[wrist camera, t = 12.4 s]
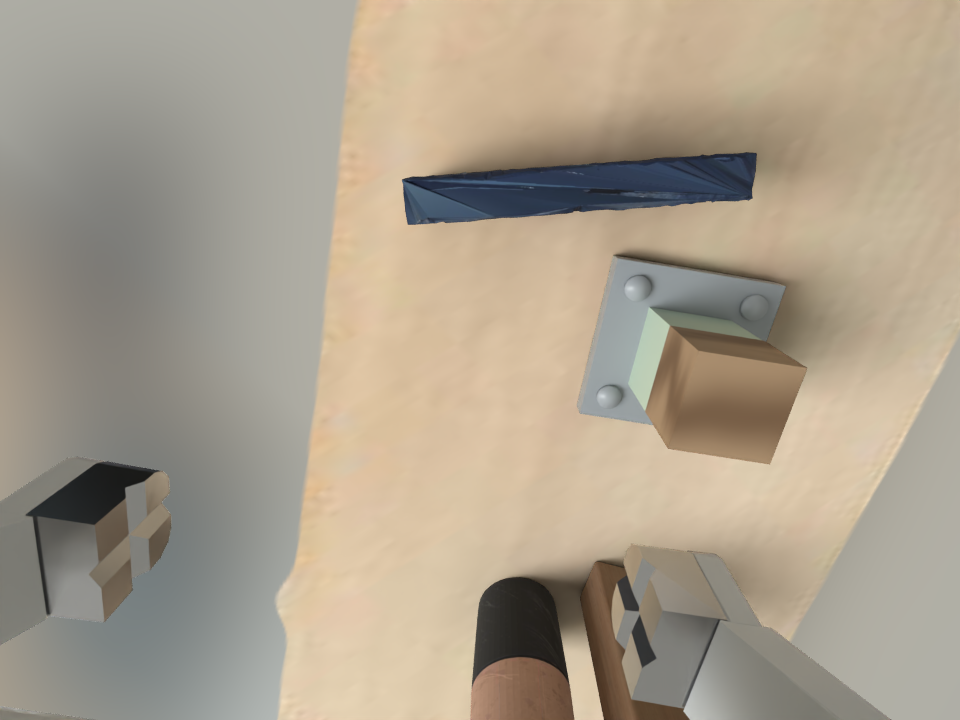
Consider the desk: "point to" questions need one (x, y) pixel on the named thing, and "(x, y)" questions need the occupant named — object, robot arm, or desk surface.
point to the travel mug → (519, 656)
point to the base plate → (670, 290)
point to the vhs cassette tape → (578, 188)
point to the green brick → (655, 341)
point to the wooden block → (613, 652)
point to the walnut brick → (722, 394)
